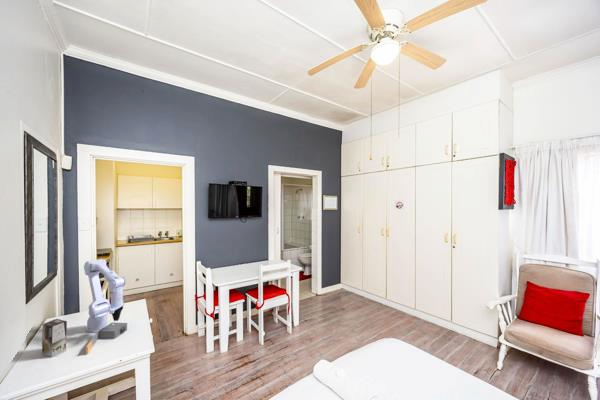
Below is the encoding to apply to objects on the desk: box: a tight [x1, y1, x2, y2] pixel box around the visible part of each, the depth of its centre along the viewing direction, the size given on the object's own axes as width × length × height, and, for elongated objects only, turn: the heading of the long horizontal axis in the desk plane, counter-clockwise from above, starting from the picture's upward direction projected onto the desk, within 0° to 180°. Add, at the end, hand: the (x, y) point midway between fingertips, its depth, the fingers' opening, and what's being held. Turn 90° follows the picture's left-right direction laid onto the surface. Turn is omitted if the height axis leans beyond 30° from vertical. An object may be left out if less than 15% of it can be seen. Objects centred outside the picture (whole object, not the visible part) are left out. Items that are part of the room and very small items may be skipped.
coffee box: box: [41, 318, 68, 358], centre depth 131 cm, size 9×6×16 cm
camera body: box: [98, 322, 128, 340], centre depth 149 cm, size 11×10×5 cm
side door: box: [85, 332, 99, 355], centre depth 136 cm, size 16×1×4 cm, turn 25°
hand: (116, 320), depth 148 cm, fingers closed
